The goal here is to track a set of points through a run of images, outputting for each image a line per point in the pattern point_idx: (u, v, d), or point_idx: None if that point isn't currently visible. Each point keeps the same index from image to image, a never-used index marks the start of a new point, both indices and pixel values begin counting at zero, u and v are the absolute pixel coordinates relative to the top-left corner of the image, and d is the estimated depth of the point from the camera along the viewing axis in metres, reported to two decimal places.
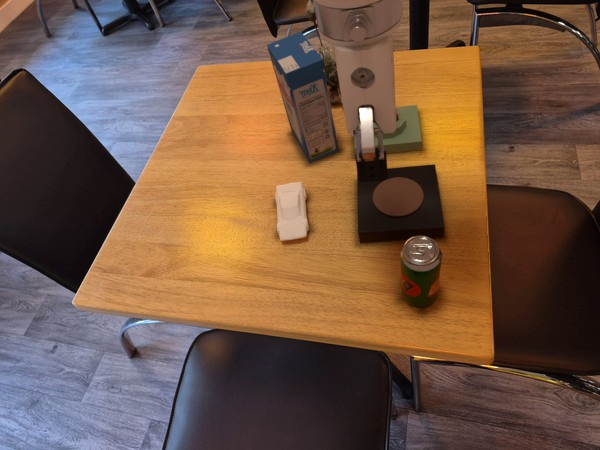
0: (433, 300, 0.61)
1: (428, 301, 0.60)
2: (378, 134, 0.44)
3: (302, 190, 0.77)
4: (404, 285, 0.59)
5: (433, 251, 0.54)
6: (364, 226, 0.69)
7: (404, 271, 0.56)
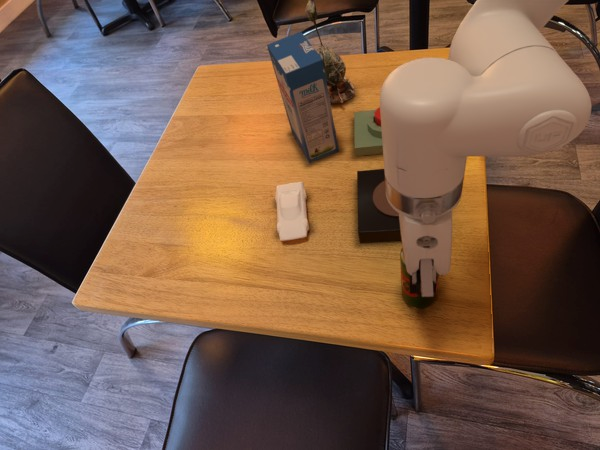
0: (433, 300, 0.61)
1: (428, 301, 0.60)
2: (432, 269, 0.51)
3: (302, 190, 0.77)
4: (404, 285, 0.59)
5: None
6: (364, 226, 0.69)
7: (404, 271, 0.56)
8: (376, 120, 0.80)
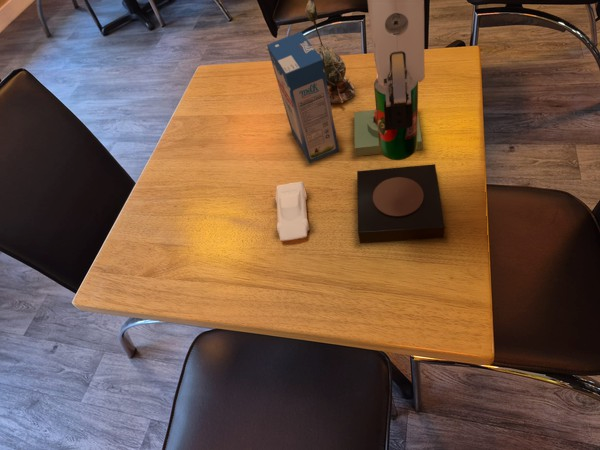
0: (411, 148, 0.57)
1: (406, 147, 0.57)
2: (406, 83, 0.47)
3: (302, 190, 0.77)
4: (380, 128, 0.56)
5: None
6: (364, 226, 0.69)
7: (378, 103, 0.52)
8: (376, 120, 0.80)
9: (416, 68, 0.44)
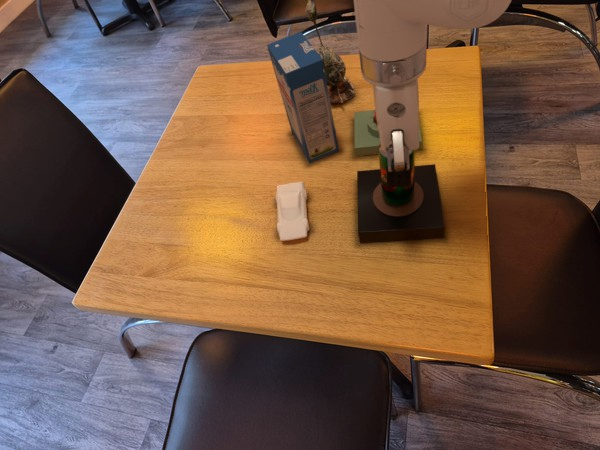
0: (409, 197, 0.68)
1: (405, 197, 0.67)
2: (405, 150, 0.56)
3: (303, 190, 0.77)
4: (383, 181, 0.66)
5: None
6: (364, 226, 0.69)
7: (382, 163, 0.63)
8: (376, 120, 0.80)
9: (412, 140, 0.54)
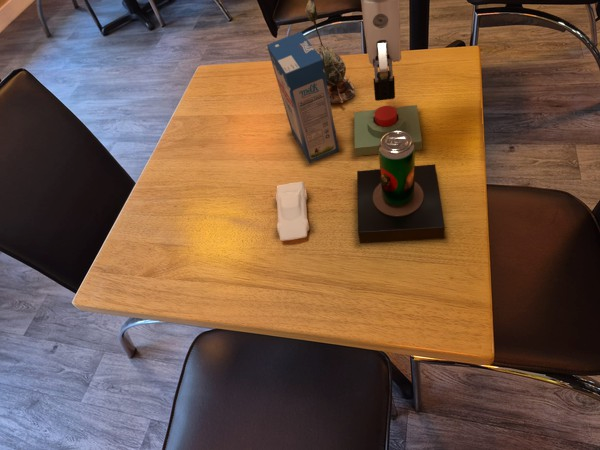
0: (409, 197, 0.68)
1: (405, 197, 0.67)
2: (389, 63, 0.66)
3: (303, 190, 0.77)
4: (383, 181, 0.66)
5: (407, 142, 0.61)
6: (364, 226, 0.69)
7: (382, 163, 0.63)
8: (376, 120, 0.80)
9: (395, 51, 0.64)
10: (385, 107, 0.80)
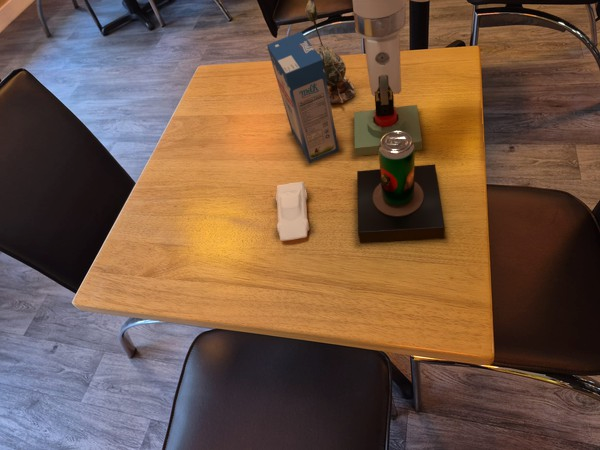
0: (409, 197, 0.68)
1: (405, 197, 0.67)
2: (389, 90, 0.73)
3: (303, 190, 0.77)
4: (383, 181, 0.66)
5: (407, 142, 0.61)
6: (364, 226, 0.69)
7: (382, 163, 0.63)
8: (376, 121, 0.80)
9: (395, 85, 0.69)
10: None
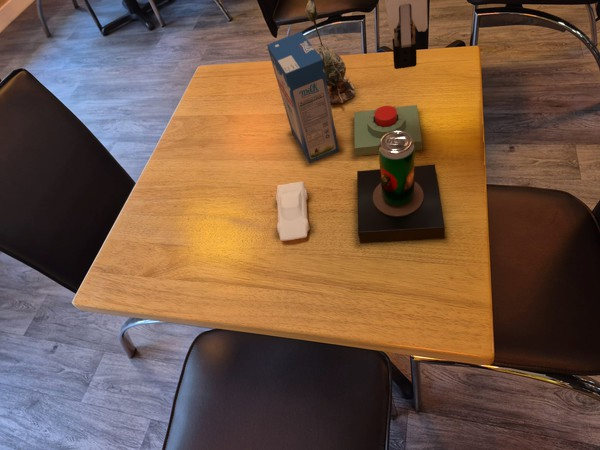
0: (409, 197, 0.68)
1: (405, 197, 0.67)
2: (412, 30, 0.58)
3: (303, 190, 0.77)
4: (383, 181, 0.66)
5: (407, 142, 0.61)
6: (364, 226, 0.69)
7: (382, 163, 0.63)
8: (376, 120, 0.80)
9: (420, 18, 0.54)
10: (385, 107, 0.80)
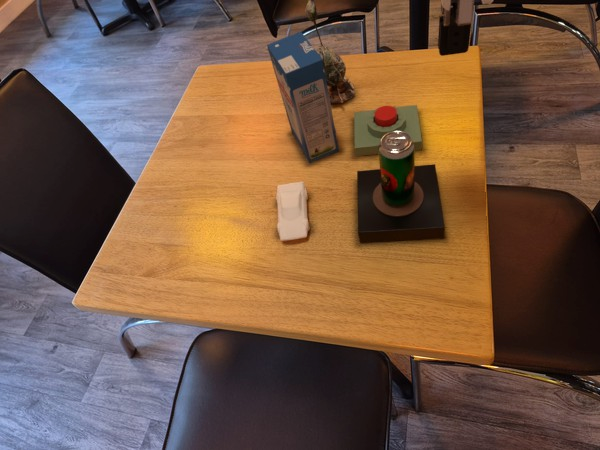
0: (409, 197, 0.68)
1: (405, 197, 0.67)
2: None
3: (303, 190, 0.77)
4: (383, 181, 0.66)
5: (407, 142, 0.61)
6: (364, 226, 0.69)
7: (382, 163, 0.63)
8: (376, 120, 0.80)
9: None
10: (385, 107, 0.80)
